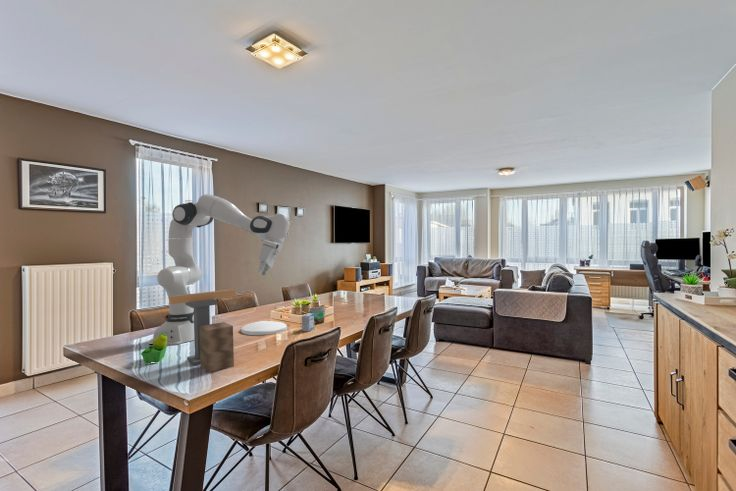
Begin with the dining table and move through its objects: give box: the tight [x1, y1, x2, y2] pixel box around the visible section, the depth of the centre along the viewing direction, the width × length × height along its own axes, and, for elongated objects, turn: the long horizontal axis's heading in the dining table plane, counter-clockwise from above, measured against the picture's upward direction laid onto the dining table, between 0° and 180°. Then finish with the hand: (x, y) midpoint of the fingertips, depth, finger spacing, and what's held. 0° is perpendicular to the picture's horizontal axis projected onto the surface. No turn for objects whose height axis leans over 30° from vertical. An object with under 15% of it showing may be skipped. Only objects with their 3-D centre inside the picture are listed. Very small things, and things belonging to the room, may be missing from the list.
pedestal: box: [199, 321, 235, 374], centre depth 146 cm, size 10×10×16 cm
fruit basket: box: [140, 334, 168, 364], centre depth 155 cm, size 11×9×11 cm
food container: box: [308, 304, 327, 325], centre depth 218 cm, size 12×6×10 cm, turn 148°
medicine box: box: [301, 312, 315, 333], centre depth 202 cm, size 8×4×9 cm, turn 168°
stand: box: [185, 299, 218, 367], centre depth 153 cm, size 10×10×26 cm
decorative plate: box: [240, 320, 288, 336], centre depth 205 cm, size 25×4×25 cm
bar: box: [168, 289, 236, 305], centre depth 154 cm, size 26×3×3 cm, turn 131°
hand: (261, 273), depth 166 cm, fingers open, 8 cm apart
